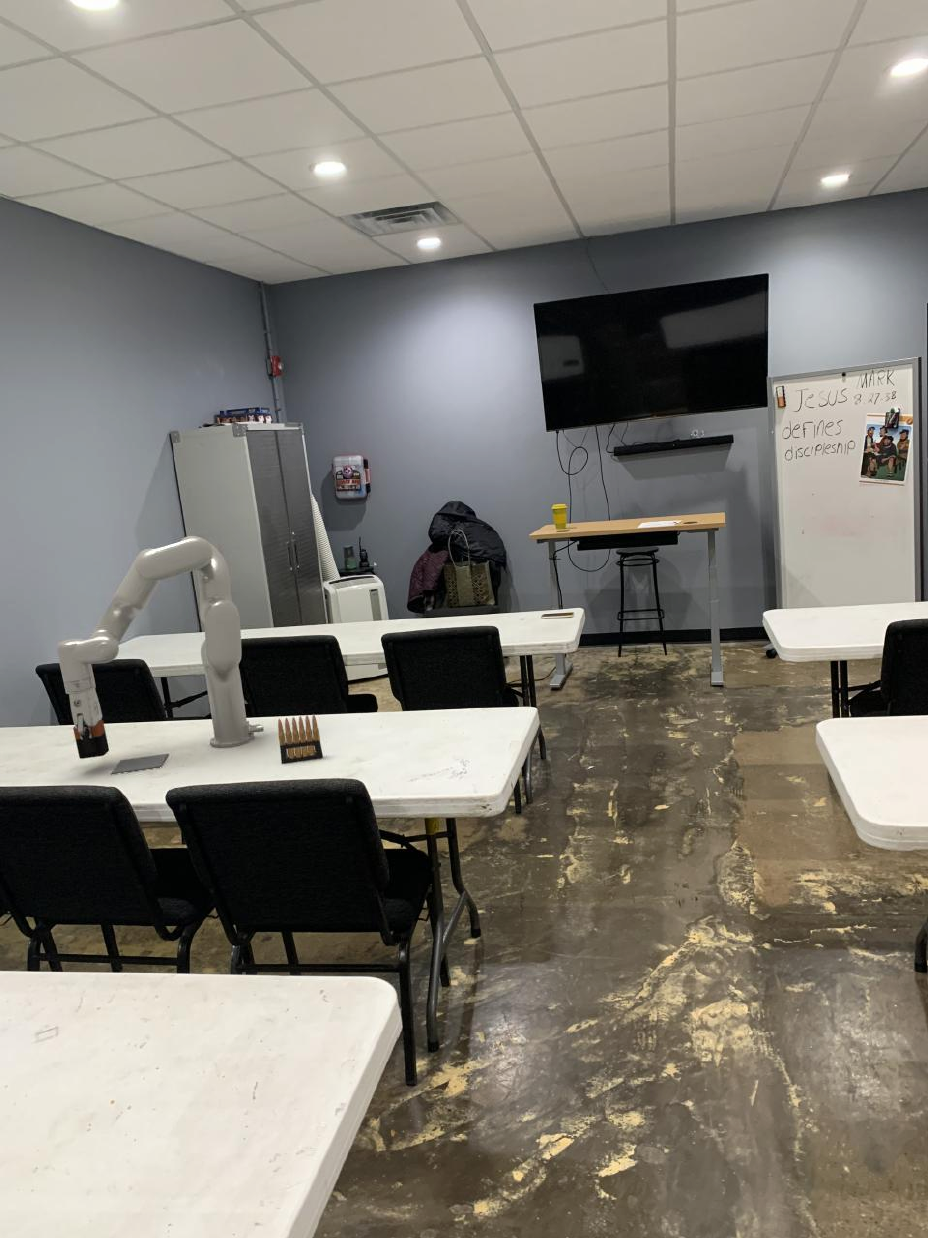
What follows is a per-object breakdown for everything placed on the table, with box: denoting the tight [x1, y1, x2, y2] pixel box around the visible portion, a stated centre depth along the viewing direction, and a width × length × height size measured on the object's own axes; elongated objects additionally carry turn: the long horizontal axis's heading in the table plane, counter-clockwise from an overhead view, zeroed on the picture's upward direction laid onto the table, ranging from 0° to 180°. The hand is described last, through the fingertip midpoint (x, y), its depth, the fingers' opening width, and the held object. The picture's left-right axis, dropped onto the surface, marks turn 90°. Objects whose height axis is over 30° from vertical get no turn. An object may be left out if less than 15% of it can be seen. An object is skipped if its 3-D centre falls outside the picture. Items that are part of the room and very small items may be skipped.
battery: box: [72, 719, 110, 760], centre depth 235 cm, size 4×7×10 cm, turn 93°
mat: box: [110, 752, 170, 776], centre depth 236 cm, size 13×11×1 cm
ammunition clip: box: [277, 713, 324, 765], centre depth 226 cm, size 11×2×12 cm, turn 98°
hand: (93, 748), depth 235 cm, fingers closed on battery, 4 cm apart
